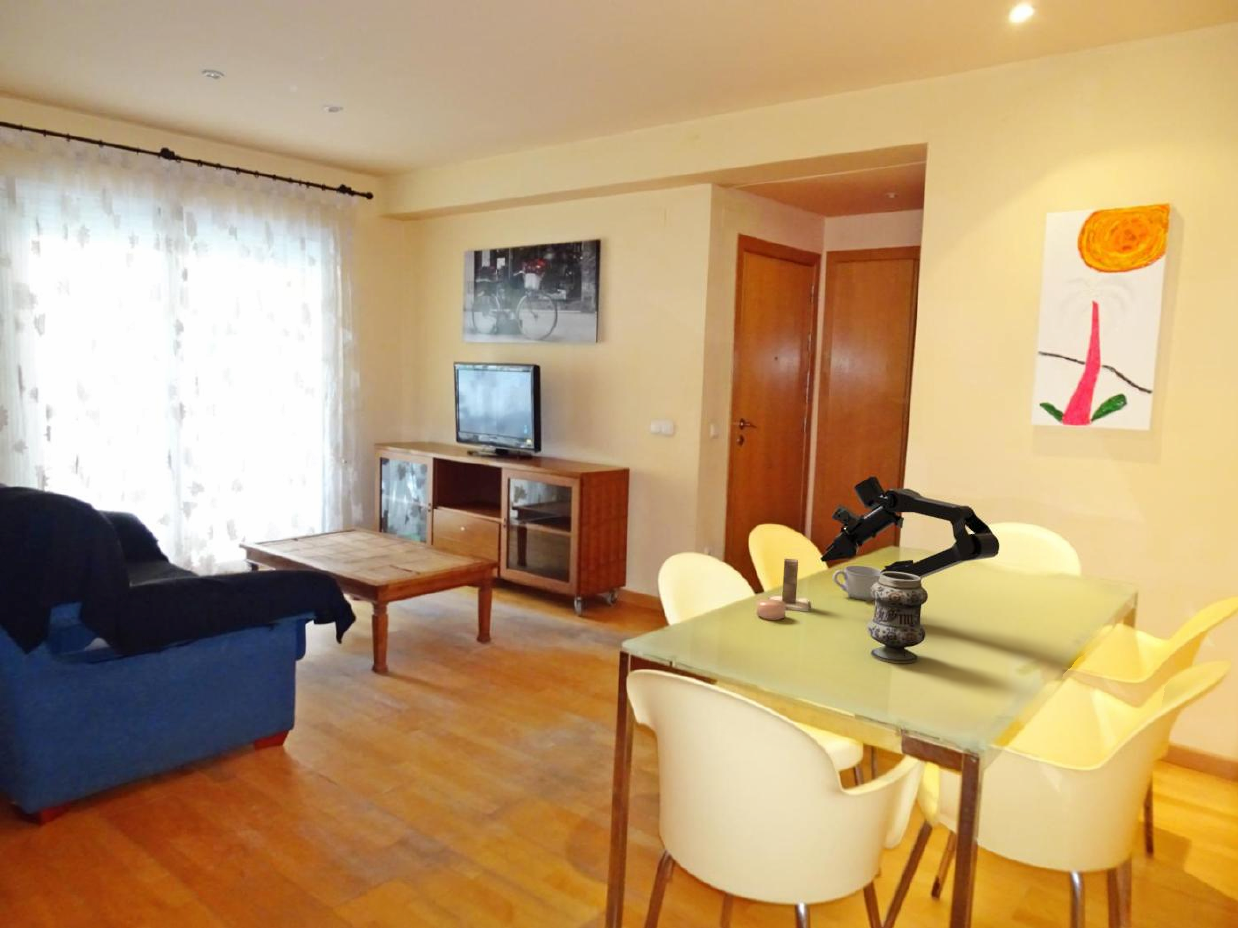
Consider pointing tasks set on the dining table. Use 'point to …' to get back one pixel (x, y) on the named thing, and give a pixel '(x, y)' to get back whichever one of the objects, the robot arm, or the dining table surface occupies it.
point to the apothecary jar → (897, 616)
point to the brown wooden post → (791, 588)
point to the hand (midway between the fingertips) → (824, 555)
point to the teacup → (858, 581)
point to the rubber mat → (801, 611)
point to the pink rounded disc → (771, 609)
